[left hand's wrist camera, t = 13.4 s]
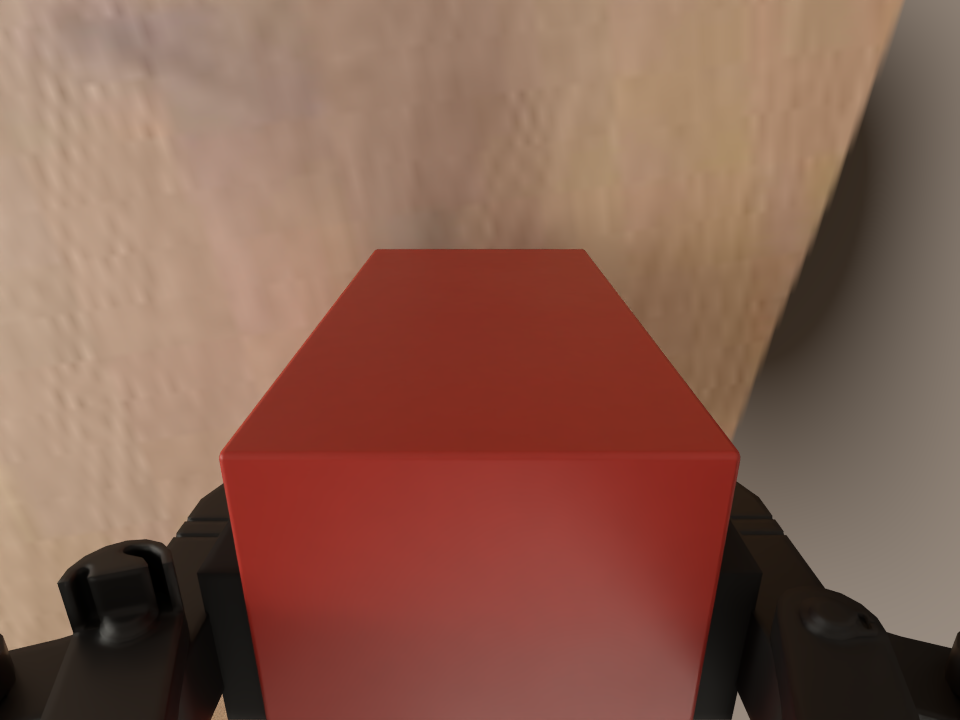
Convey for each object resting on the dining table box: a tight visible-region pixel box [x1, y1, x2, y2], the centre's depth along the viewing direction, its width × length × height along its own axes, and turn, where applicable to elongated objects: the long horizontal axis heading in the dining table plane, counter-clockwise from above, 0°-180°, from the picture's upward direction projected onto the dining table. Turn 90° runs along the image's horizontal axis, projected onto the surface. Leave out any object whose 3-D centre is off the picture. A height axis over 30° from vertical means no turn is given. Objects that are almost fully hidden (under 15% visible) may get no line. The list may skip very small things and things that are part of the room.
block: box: [219, 249, 740, 720], centre depth 13 cm, size 6×6×11 cm
